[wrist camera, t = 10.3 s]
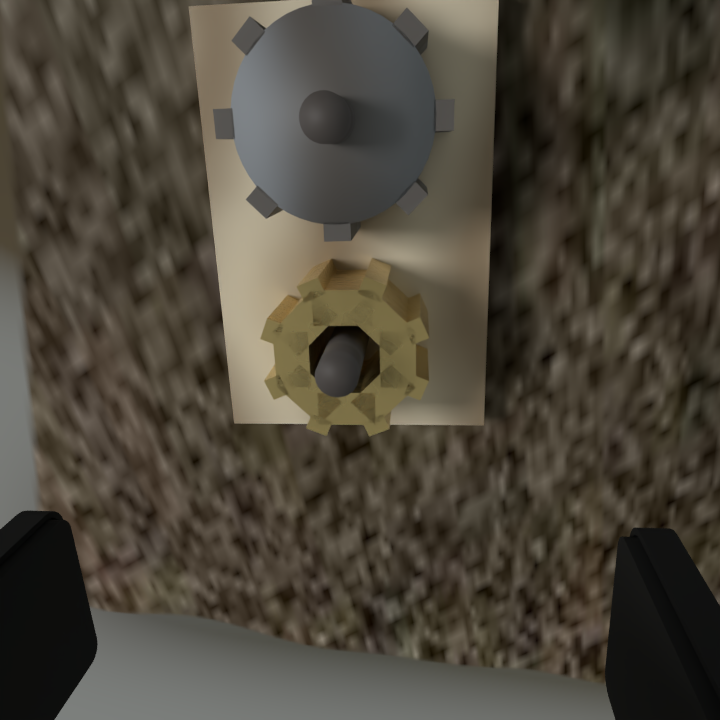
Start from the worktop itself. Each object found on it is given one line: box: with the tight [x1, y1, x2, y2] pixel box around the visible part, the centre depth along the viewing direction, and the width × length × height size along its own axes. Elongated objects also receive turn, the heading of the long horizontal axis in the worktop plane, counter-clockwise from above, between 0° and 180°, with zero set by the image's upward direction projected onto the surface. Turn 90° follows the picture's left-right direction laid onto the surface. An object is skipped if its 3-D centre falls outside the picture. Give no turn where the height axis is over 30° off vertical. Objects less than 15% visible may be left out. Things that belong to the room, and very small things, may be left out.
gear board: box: [189, 0, 499, 425], centre depth 25 cm, size 12×18×7 cm, turn 2°
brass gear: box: [260, 258, 429, 436], centre depth 26 cm, size 7×7×4 cm
